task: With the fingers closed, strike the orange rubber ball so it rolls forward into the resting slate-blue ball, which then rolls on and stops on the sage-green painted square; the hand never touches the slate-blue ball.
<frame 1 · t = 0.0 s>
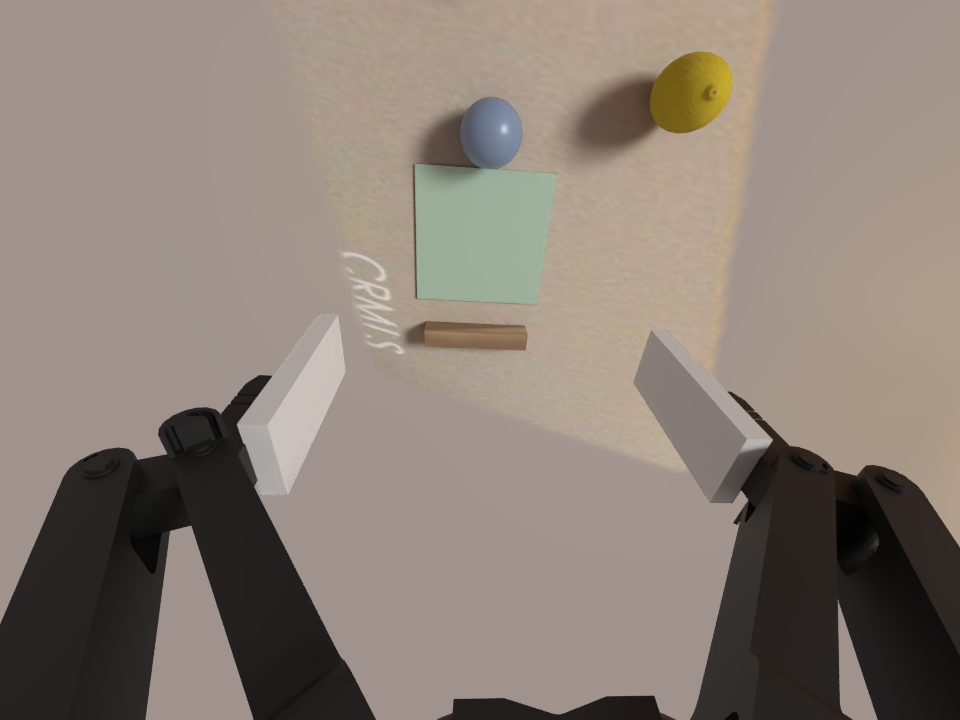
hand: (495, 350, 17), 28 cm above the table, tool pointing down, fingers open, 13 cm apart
ball b: (491, 134, 34), on the table
mark: (481, 240, 42), on the table
lemon: (666, 96, 36), on the table
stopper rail: (475, 330, 48), on the table
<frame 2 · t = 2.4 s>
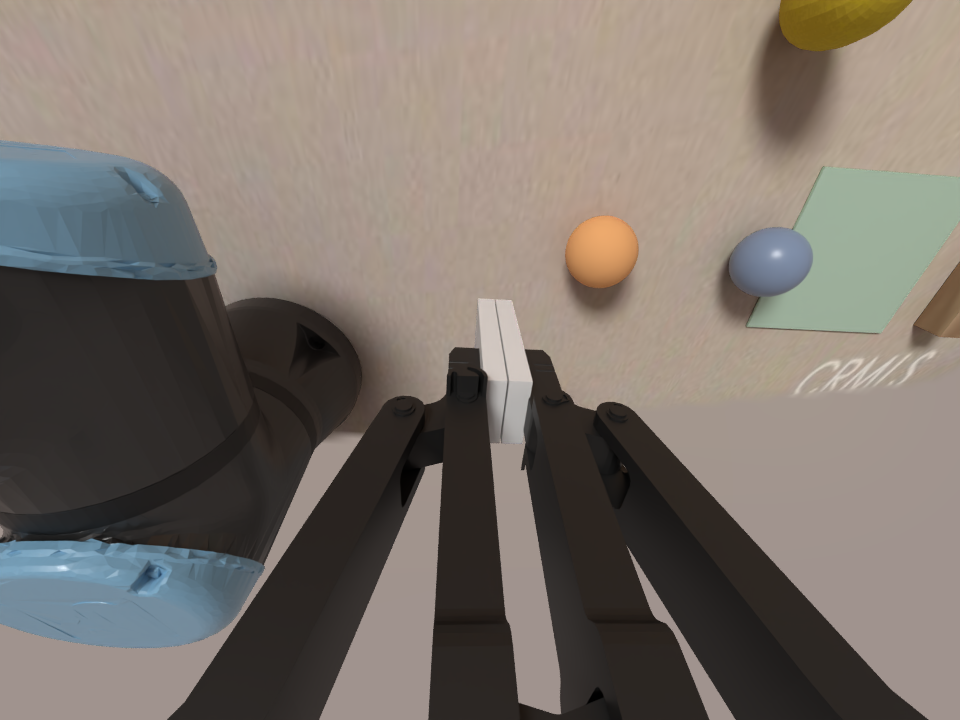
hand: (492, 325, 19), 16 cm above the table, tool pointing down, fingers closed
ball a: (600, 252, 31), on the table
ball b: (768, 262, 32), on the table
mark: (854, 259, 35), on the table
lemon: (793, 5, 25), on the table
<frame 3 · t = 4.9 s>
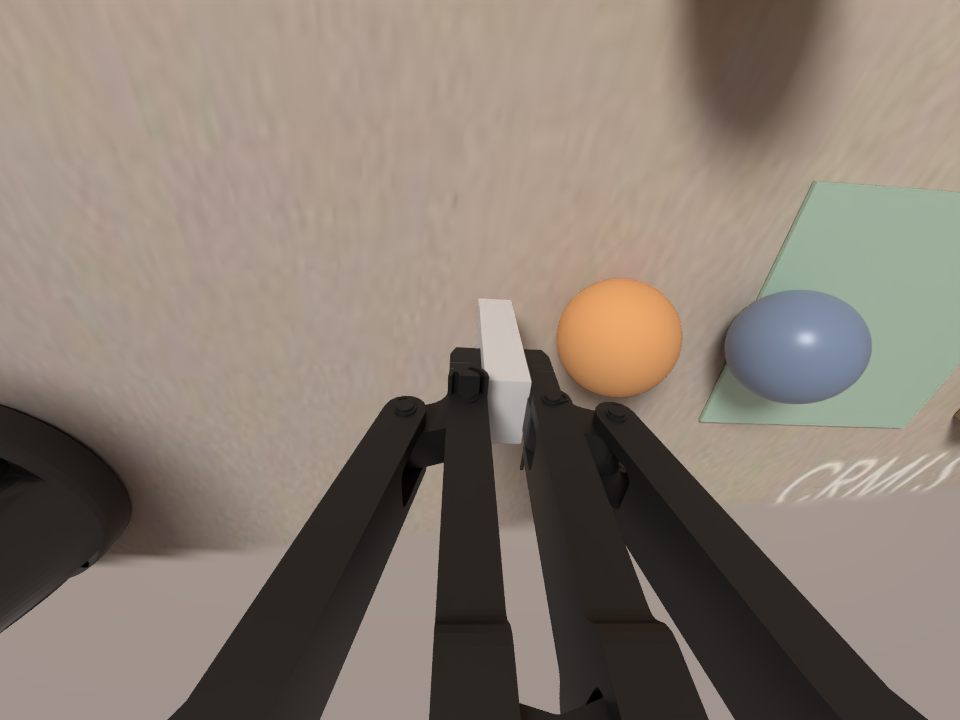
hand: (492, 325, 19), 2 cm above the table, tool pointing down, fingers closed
ball a: (616, 338, 18), on the table
ball b: (791, 347, 19), on the table
mark: (866, 327, 22), on the table
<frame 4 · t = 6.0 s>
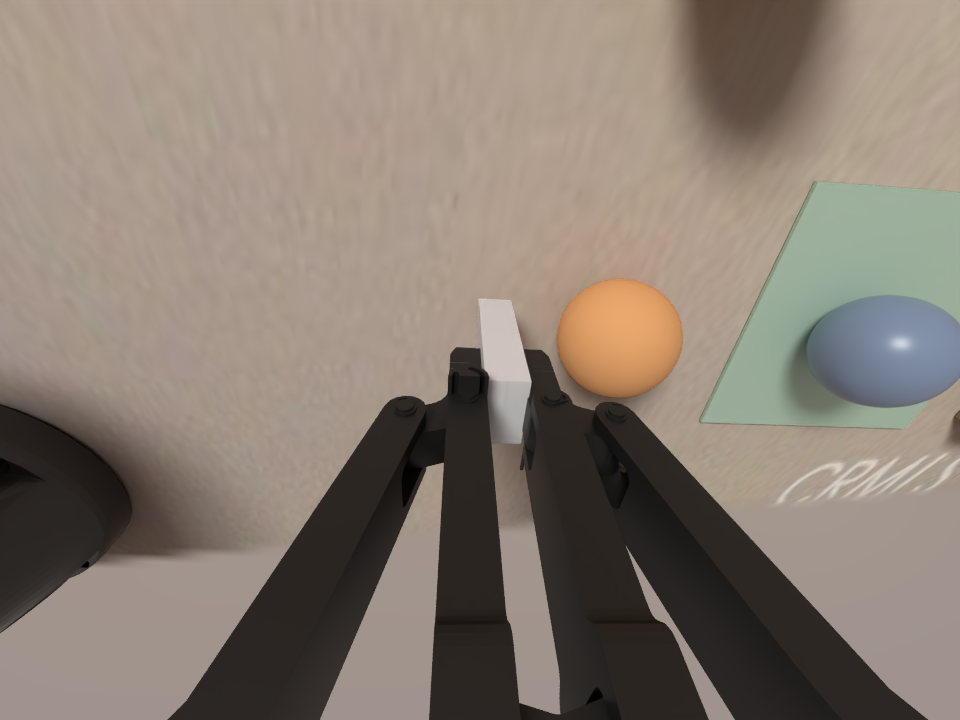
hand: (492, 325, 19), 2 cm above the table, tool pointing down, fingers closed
ball a: (616, 338, 18), on the table
ball b: (879, 351, 19), on the table
mark: (867, 327, 22), on the table
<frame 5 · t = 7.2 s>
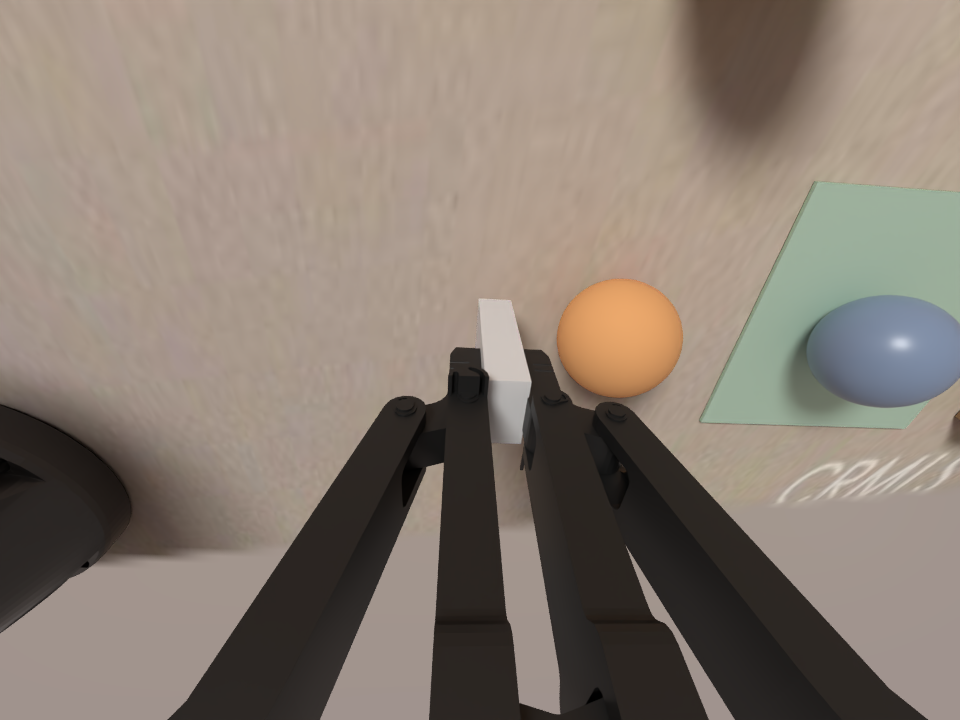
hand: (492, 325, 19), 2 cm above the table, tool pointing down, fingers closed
ball a: (616, 338, 18), on the table
ball b: (879, 351, 19), on the table
mark: (867, 327, 22), on the table
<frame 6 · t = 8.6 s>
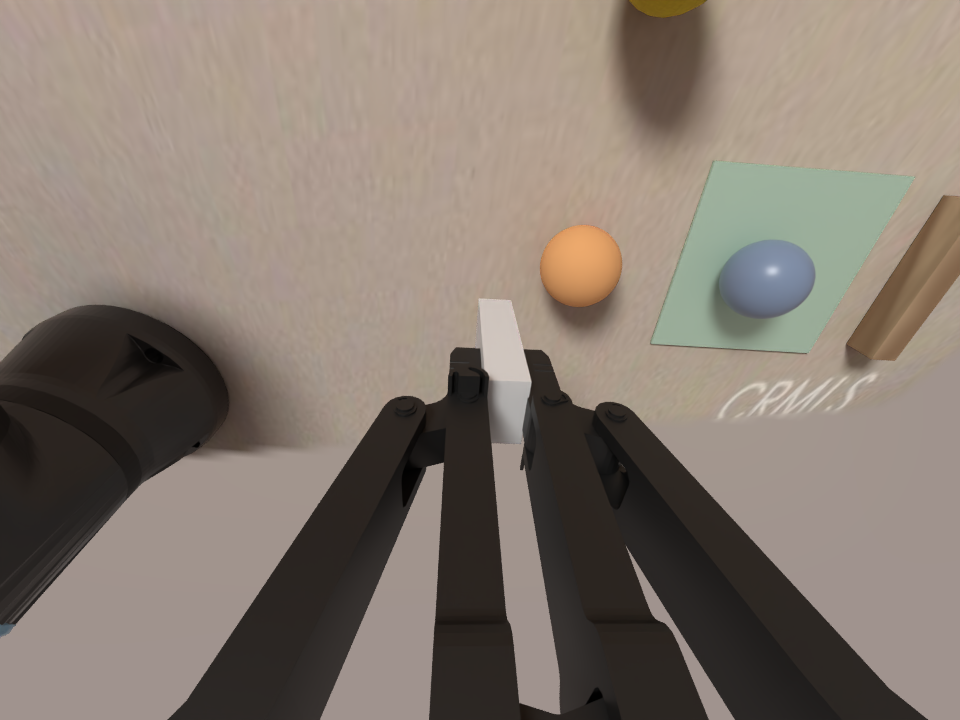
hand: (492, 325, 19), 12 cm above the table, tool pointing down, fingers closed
ball a: (580, 266, 27), on the table
ball b: (764, 280, 28), on the table
mark: (766, 269, 30), on the table
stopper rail: (902, 278, 30), on the table
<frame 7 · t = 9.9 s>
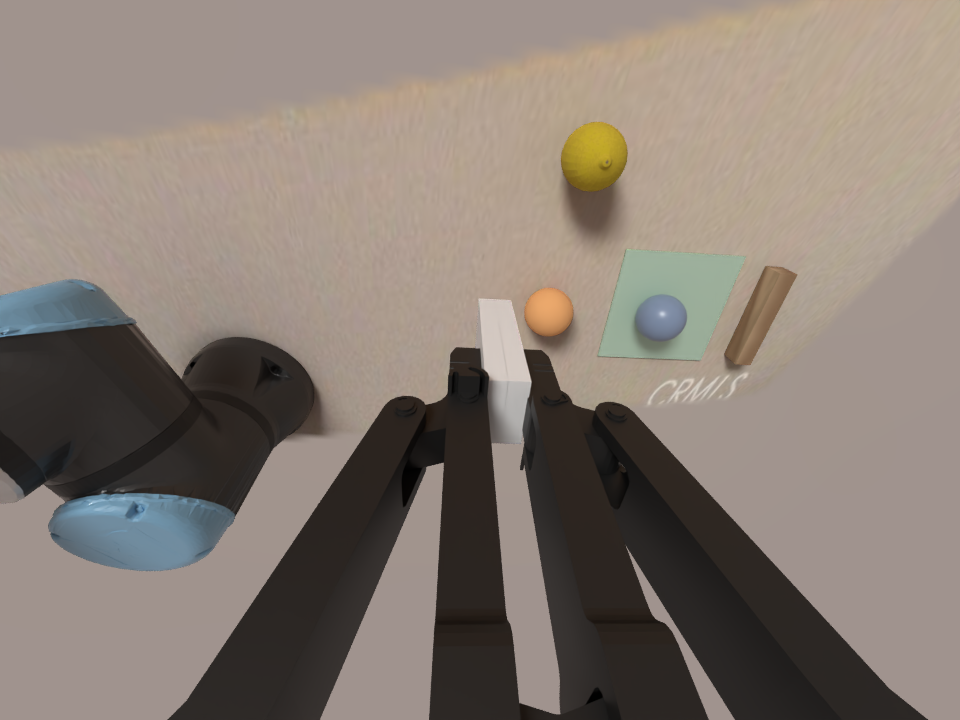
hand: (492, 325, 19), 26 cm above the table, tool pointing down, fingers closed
ball a: (548, 312, 44), on the table
ball b: (660, 318, 45), on the table
mark: (666, 309, 48), on the table
lemon: (581, 153, 39), on the table
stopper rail: (751, 313, 48), on the table
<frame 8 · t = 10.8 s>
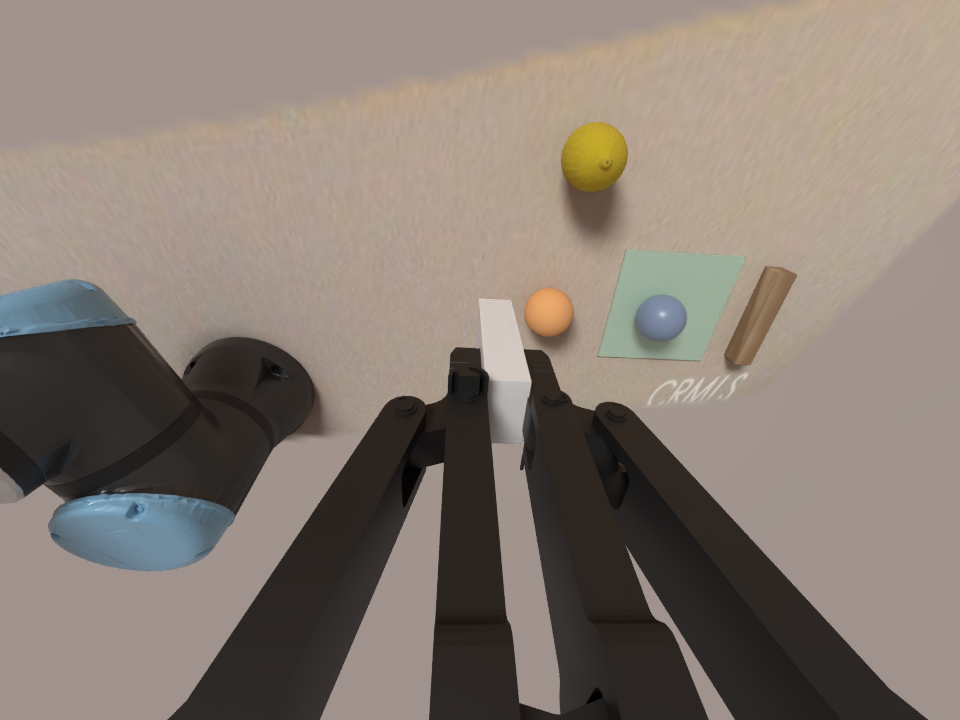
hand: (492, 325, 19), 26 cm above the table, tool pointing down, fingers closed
ball a: (548, 312, 44), on the table
ball b: (660, 318, 45), on the table
mark: (666, 309, 48), on the table
lemon: (581, 154, 39), on the table
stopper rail: (751, 313, 48), on the table
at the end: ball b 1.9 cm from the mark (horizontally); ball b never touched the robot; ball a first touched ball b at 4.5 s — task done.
